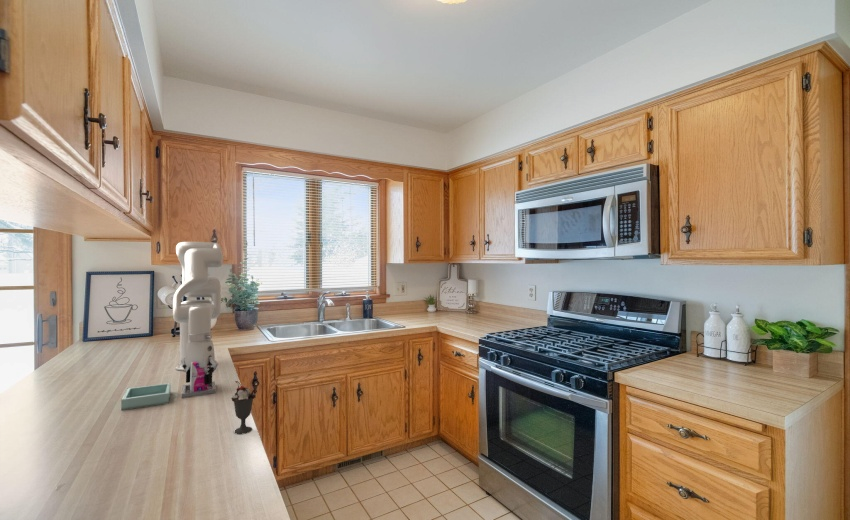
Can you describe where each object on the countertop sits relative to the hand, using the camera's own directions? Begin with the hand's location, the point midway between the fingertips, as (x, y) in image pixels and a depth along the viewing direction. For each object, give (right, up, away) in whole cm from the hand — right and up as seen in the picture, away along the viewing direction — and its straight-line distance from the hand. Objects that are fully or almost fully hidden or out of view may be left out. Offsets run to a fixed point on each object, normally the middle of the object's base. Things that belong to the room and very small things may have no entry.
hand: (199, 382), depth 150 cm
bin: (-12, -3, -11) cm, 17 cm away
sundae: (+33, -4, -34) cm, 48 cm away
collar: (0, -3, 0) cm, 3 cm away
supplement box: (0, -3, 0) cm, 3 cm away
